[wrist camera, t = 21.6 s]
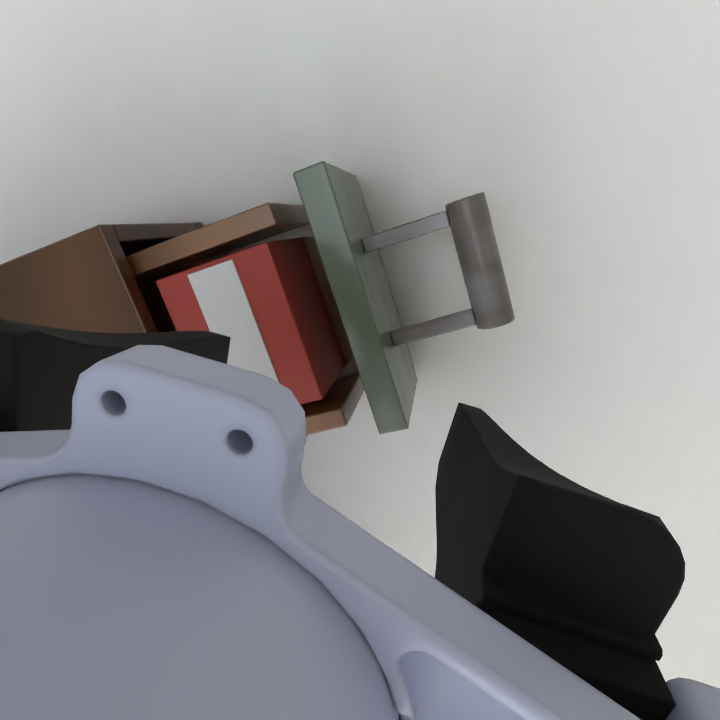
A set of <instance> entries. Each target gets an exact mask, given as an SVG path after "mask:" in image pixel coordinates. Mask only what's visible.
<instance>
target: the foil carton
mask: <svg viewBox="0 0 720 720" xmlns="http://www.w3.org/2000/svg"><path fill="white" fill-rule="evenodd" d="M156 284H157V286H158V288H159V291H160V293H161V295H162V298H163V300H164V303H165V305H166V307H167V310H168V312H169V314H170V317H171V319H172V322H173V324H174V326H175V329H176V331H209V332H214V333H218V334H221V335H225V336H228V337H231V339H230V346H229V353H228V360H227V364H228V365H231V366H235V367H238V368H241V369H245V370H248V371H252V372H255V373H259V374H262V375H265V376H268V377H270V378H271V379H273V380H275V381H276V382H278V383H280V384H282V385H283V386H285V387H287V388H289V389H290V390H291V391H292V393H293V394H294V396H295V397H296V399H297V400H298V402H299V404H304V403H308V402H312V401H316V400H320V399H323V397H324V396H325V394H326V393H327V392H328V390H329V389H330V387H331V386H332V384H333V383H334V382H335V380H336V379H337V377H338V376H339V374H340V373H341V371H342V370H343V369H344V367H345V366H346V364H345V361H344V358H343V355H342V352H341V349H340V346H339V343H338V340H337V337H336V334H335V331H334V328H333V325H332V322H331V320H330V317H329V314H328V311H327V308H326V305H325V302H324V299H323V296H322V293H321V290H320V287H319V284H318V281H317V278H316V275H315V272H314V269H313V266H312V263H311V261H310V258H309V255H308V252H307V249H306V246H305V243H304V240H303V238H302V237H299V238H292V239H284V240H277V241H269V242H264V243H261V244H258V245H256V246H253V247H250V248H247V249H244V250H241V251H239V252H236V253H233V254H230V255H227V256H224V257H222V258H219V259H216V260H213V261H210V262H207V263H205V264H202V265H199V266H196V267H193V268H190V269H188V270H185V271H182V272H179V273H176V274H173V275H171V276H168V277H165V278H162V279H159V280H157V281H156Z"/></svg>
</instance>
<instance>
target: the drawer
mask: <svg viewBox="0 0 720 720" xmlns="http://www.w3.org/2000/svg"><path fill="white" fill-rule="evenodd" d="M293 176H294V179H295V182H296V185H297V188H298V191H299V194H300V197H301V200H302V203H303V205H291V204H279V203H265V204H263V205H260V206H258V207H255V208H252V209H250V210H247V211H244V212H242V213H239V214H236V215H234V216H231V217H228V218H226V219H223V220H220V221H218V222H215V223H212V224H210V225H207V226H205V227H202V228H199V229H197V230H194V231H191V232H189V233H186V234H183V235H181V236H178V237H175V238H173V239H170V240H167V241H165V242H162V243H159V244H157V245H154V246H152V247H149V248H146V249H144V250H141V251H138V252H136V253H133V254H130V255H128V256H126V259H127V261H128V263H129V266H130V268H131V270H132V273H133V275H134V277H135V280H136V282H137V284H138V287H139V289H140V291H141V293H142V296H143V298H144V300H145V303H146V305H147V307H148V310H149V312H150V314H151V317H152V319H153V321H154V324H155V326H156V328H157V331H158V332H172V331H176V329H175V326H174V324H173V322H172V319H171V317H170V314H169V312H168V310H167V307H166V305H165V303H164V300H163V298H162V295H161V293H160V291H159V288H158V286H157V284H156V281H157V280H159V279H162V278H165V277H168V276H171V275H173V274H176V273H179V272H182V271H185V270H188V269H190V268H193V267H196V266H199V265H202V264H205V263H207V262H210V261H213V260H216V259H219V258H222V257H224V256H227V255H230V254H233V253H236V252H239V251H241V250H244V249H247V248H250V247H253V246H256V245H258V244H261V243H264V242H269V241H277V240H284V239H292V238H299V237H302V238H303V240H304V243H305V246H306V249H307V252H308V255H309V258H310V261H311V263H312V266H313V269H314V272H315V275H316V278H317V281H318V284H319V287H320V290H321V293H322V296H323V299H324V302H325V305H326V308H327V311H328V314H329V317H330V320H331V322H332V325H333V328H334V331H335V334H336V337H337V340H338V343H339V346H340V349H341V352H342V355H343V358H344V361H345V364H346V366H345V367H344V369H343V370H342V371H341V373H340V374H339V376H338V377H337V379H336V380H335V382H334V383H333V384H332V386H331V387H330V389H329V390H328V392H327V393H326V394H325V396H324V397H323V399H320V400H316V401H312V402H308V403H304V404H300V405H301V407H302V408H303V410H304V411H305V420H306V435H308V434H312V433H317V432H321V431H325V430H330V429H334V428H339V427H343V426H346V425H347V424H348V422H349V420H350V418H351V416H352V414H353V412H354V410H355V408H356V406H357V404H358V402H359V399H360V397H361V395H362V393H363V391H364V389H365V392H366V395H367V398H368V401H369V404H370V407H371V410H372V413H373V416H374V419H375V422H376V425H377V428H378V431H379V433H380V434H384V433H389V432H393V431H398V430H403V429H407V428H408V426H409V421H410V416H411V410H412V405H413V400H414V395H415V390H416V384H417V376H416V373H415V370H414V367H413V363H412V360H411V357H410V353H409V350H408V347H407V343H410V342H413V341H417V340H421V339H425V338H428V337H432V336H436V335H440V334H443V333H447V332H451V331H455V330H459V329H462V328H466V327H470V326H474V325H476V326H477V328H478V329H491V328H496V327H499V326H503V325H505V324H508V323H510V322H511V321H513V320H514V318H515V317H514V313H513V309H512V305H511V301H510V296H509V292H508V288H507V284H506V280H505V276H504V272H503V268H502V263H501V259H500V255H499V251H498V247H497V243H496V239H495V235H494V230H493V226H492V222H491V218H490V214H489V210H488V206H487V202H486V197H485V193H484V192H482V193H478V194H475V195H472V196H469V197H466V198H463V199H460V200H457V201H454V202H452V203H449V204H447V205H445V208H446V211H443V212H440V213H437V214H434V215H431V216H428V217H425V218H422V219H419V220H416V221H413V222H410V223H407V224H404V225H401V226H398V227H395V228H392V229H389V230H386V231H383V232H380V233H377V234H374V235H373V231H372V228H371V225H370V221H369V218H368V215H367V211H366V208H365V205H364V202H363V198H362V195H361V192H360V188H359V185H358V182H357V178H356V176H355V175H353V174H351V173H349V172H346V171H344V170H342V169H340V168H337V167H335V166H333V165H331V164H329V163H326V162H324V161H322V162H319V163H317V164H314V165H312V166H309V167H306V168H304V169H301V170H299V171H296V172H294V173H293ZM449 226H450V227H451V231H452V235H453V238H454V242H455V246H456V250H457V254H458V257H459V261H460V265H461V269H462V273H463V276H464V280H465V284H466V288H467V292H468V295H469V299H470V303H471V307H472V309H468V310H464V311H461V312H457V313H454V314H450V315H446V316H443V317H439V318H435V319H432V320H428V321H425V322H421V323H417V324H414V325H410V326H406V327H403V328H402V327H401V324H400V320H399V317H398V314H397V310H396V307H395V304H394V301H393V297H392V294H391V291H390V287H389V284H388V281H387V277H386V274H385V271H384V268H383V264H382V261H381V258H380V254H379V251H378V249H381V248H384V247H387V246H390V245H394V244H397V243H400V242H403V241H406V240H409V239H412V238H415V237H418V236H421V235H424V234H427V233H430V232H433V231H437V230H440V229H443V228H446V227H449Z"/></svg>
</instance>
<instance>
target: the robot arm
mask: <svg viewBox="0 0 720 720" xmlns="http://www.w3.org/2000/svg"><path fill="white" fill-rule="evenodd" d="M230 339H231V337H228V336H225V335H221V334H218V333H214V332H209V331H172V332H150V333H102V332H86V331H77V330H68V329H59V328H51V327H44V326H38V325H32V324H27V323H22V322H16V321H11V320H7V319H2V318H0V720H720V689H719V688H716V687H713V686H710V685H707V684H704V683H701V682H698V681H695V680H691V679H685V678H675V679H671V680H668V681H667V682H665V680H664V678H663V676H662V674H661V672H660V669H659V667H658V665H657V663H656V661H655V660H658V661H659V660H660V659H661V657H662V648H661V646H660V644H659V642H658V640H657V638H656V636H655V633H656V631H657V629H658V628H659V626H660V624H661V623H662V621H663V619H664V618H665V616H666V614H667V613H668V611H669V609H670V608H671V606H672V604H673V603H674V601H675V599H676V598H677V596H678V594H679V592H680V589H681V587H682V584H683V582H684V578H685V561H684V558H683V555H682V552H681V549H680V547H679V545H678V544H677V542H676V541H675V539H674V538H673V536H672V535H671V533H670V532H669V531H668V529H667V528H666V526H665V525H664V523H663V522H662V520H661V519H660V517H658V516H655V515H652V514H650V513H647V512H644V511H641V510H638V509H635V508H632V507H630V506H627V505H624V504H621V503H618V502H616V501H613V500H611V499H609V498H606V497H604V496H602V495H600V494H597V493H595V492H593V491H591V490H589V489H587V488H584V487H582V486H580V485H578V484H577V483H575V482H573V481H571V480H569V479H567V478H566V477H564V476H562V475H560V474H559V473H557V472H555V471H554V470H552V469H551V468H549V467H548V466H546V465H545V464H543V463H542V462H540V461H539V460H537V459H536V458H535V457H533V456H532V455H531V454H529V453H528V452H527V451H526V450H524V449H523V448H522V447H521V446H520V445H519V444H517V443H516V442H515V441H514V440H513V439H512V438H511V437H510V436H509V435H507V434H506V433H505V432H504V431H503V430H502V429H501V428H500V427H499V426H498V425H497V424H496V423H495V422H494V421H493V420H492V419H491V418H490V417H489V416H488V415H487V414H486V413H485V412H484V411H483V410H481V409H479V408H476V407H473V406H469V405H466V404H462V403H458V406H457V409H456V412H455V415H454V418H453V421H452V424H451V427H450V430H449V433H448V436H447V439H446V442H445V445H444V448H443V451H442V454H441V457H440V460H439V465H438V473H437V480H436V529H437V562H436V572H435V578H434V577H432V576H431V575H429V574H428V573H426V572H425V571H423V570H422V569H421V568H419V567H418V566H416V565H415V564H413V563H412V562H410V561H409V560H407V559H406V558H404V557H403V556H402V555H400V554H399V553H397V552H396V551H394V550H393V549H391V548H390V547H388V546H387V545H386V544H384V543H383V542H381V541H380V540H378V539H377V538H375V537H374V536H372V535H371V534H369V533H368V532H367V531H365V530H364V529H362V528H361V527H359V526H358V525H356V524H355V523H353V522H352V521H351V520H349V519H348V518H346V517H345V516H343V515H342V514H340V513H339V512H337V511H336V510H334V509H333V508H332V507H330V506H329V505H327V504H326V503H324V502H323V501H321V500H320V499H318V498H317V497H315V496H314V495H313V494H311V493H310V492H309V490H308V489H307V487H306V486H305V484H304V482H303V481H302V477H301V460H302V455H303V451H304V446H305V441H306V437H307V435H306V420H305V411H304V410H303V408H302V407H301V405H300V404H299V402H298V400H297V399H296V397H295V396H294V394H293V393H292V391H291V390H290V389H289V388H287V387H285V386H283V385H282V384H280V383H278V382H276V381H275V380H273V379H271V378H270V377H268V376H265V375H262V374H259V373H255V372H252V371H248V370H245V369H241V368H238V367H235V366H231V365H228V364H227V360H228V353H229V346H230Z"/></svg>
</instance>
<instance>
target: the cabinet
mask: <svg viewBox="0 0 720 720" xmlns="http://www.w3.org/2000/svg"><path fill="white" fill-rule="evenodd" d="M202 227H203V226H202V223H200V222H199V223H159V224H112V225H110V224H107V225H97V226H95V227H92V228H90V229H87V230H85V231H82V232H80V233H77V234H75V235H72V236H70V237H68V238H65V239H63V240H60V241H58V242H55V243H53V244H50V245H48V246H45V247H43V248H41V249H38V250H36V251H33V252H31V253H28V254H26V255H23V256H21V257H18V258H16V259H13V260H11V261H9V262H6V263H4V264H1V265H0V318H2V319H7V320H11V321H16V322H22V323H27V324H32V325H38V326H44V327H51V328H59V329H68V330H77V331H86V332H102V333H150V332H158V331H157V328H156V326H155V324H154V321H153V319H152V317H151V314H150V312H149V310H148V307H147V305H146V303H145V300H144V298H143V296H142V293H141V291H140V289H139V287H138V284H137V282H136V280H135V277H134V275H133V273H132V270H131V268H130V266H129V263H128V261H127V259H126V256H128V255H130V254H133V253H136V252H138V251H141V250H144V249H146V248H149V247H152V246H154V245H157V244H159V243H162V242H165V241H167V240H170V239H173V238H175V237H178V236H181V235H183V234H186V233H189V232H191V231H194V230H197V229H199V228H202Z"/></svg>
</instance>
